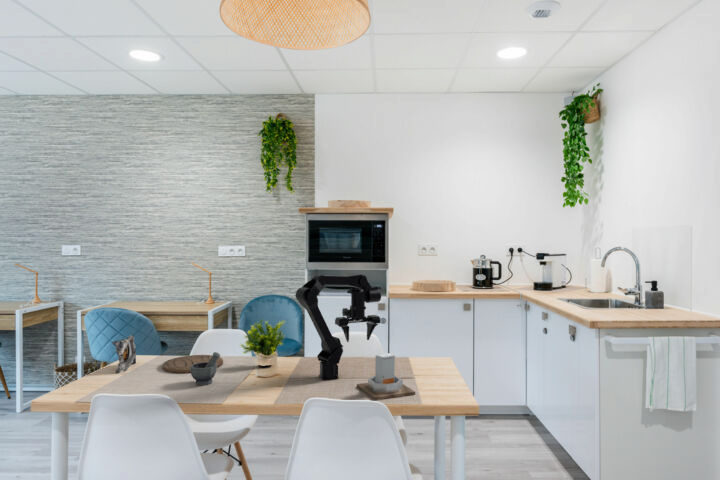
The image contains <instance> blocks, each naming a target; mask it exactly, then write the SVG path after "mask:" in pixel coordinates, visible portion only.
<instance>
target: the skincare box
mask: <svg viewBox="0 0 720 480" xmlns="http://www.w3.org/2000/svg"><path fill="white" fill-rule="evenodd" d="M395 361H396V355H394V354H392V353H390V352H388V353H380V354H376V355H375V366H374V367H375V369H374V370H375V372H374V373H375V375H374V376H375V382H376V383H383V384H390V383H394V376H396V375H395V372H396V371H395V370H396V369H395V367H396V366H395V365H396V364H395V363H396V362H395Z"/></svg>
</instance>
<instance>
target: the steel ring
mask: <svg viewBox="0 0 720 480" xmlns="http://www.w3.org/2000/svg"><path fill="white" fill-rule="evenodd" d="M367 381H368V382H367V383H368V388H369V389H371V390H372V391H373V392H380V393H393V392H399V391H400V390H401V389H402V386H403V385H404V384H403V383H404V382H403V379H402V378H400V377H399V376H397V375H395V376H394V383H390V384H383V383H376V382H375V375H372V376H371V377H369V378H368V380H367Z"/></svg>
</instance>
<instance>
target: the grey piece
mask: <svg viewBox="0 0 720 480" xmlns="http://www.w3.org/2000/svg"><path fill="white" fill-rule="evenodd" d="M112 345H113V346H114V347H115V353H116V354H117V356H118V362H119V363H118V364H117V369H116V370H115V374H121V372H127V371H128V370H129V369H130V366H131V365H135V364H137V357H136V356H137V355H136V354H137V351H136V344H135V336H134V335H133V334H130V335H129V336H127V338H123V339H121V340H120V339H119V340H114V341H112Z"/></svg>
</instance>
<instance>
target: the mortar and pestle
mask: <svg viewBox="0 0 720 480" xmlns="http://www.w3.org/2000/svg"><path fill="white" fill-rule="evenodd" d="M212 355H213V356H212V358H211V359H210V361H209V362H202V363H196V364H193V365H191V367H190V371H191V373H190V375H191V378H192V379H194V381H195V382H194V383H195V385H196V386H199V387H204V386H209V385H211V384H213V378H214V377H215V376H216V373H217V370H218V368H217V363H216V361H217V359H218V358H219V357H221V353H219V352H217V351H214V352H213V353H212Z"/></svg>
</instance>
